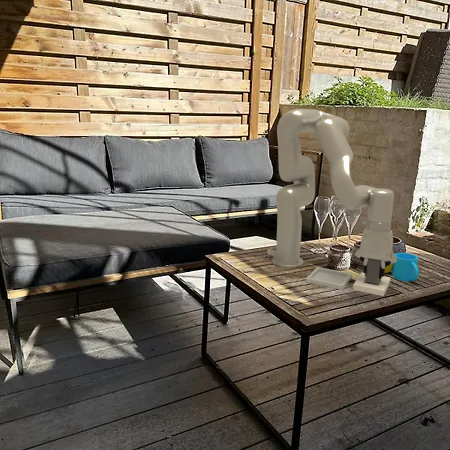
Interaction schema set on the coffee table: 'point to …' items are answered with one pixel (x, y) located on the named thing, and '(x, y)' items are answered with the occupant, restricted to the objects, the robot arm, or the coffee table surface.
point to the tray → (329, 278)
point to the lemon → (388, 268)
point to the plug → (373, 270)
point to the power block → (369, 288)
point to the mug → (405, 267)
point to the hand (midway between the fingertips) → (373, 276)
